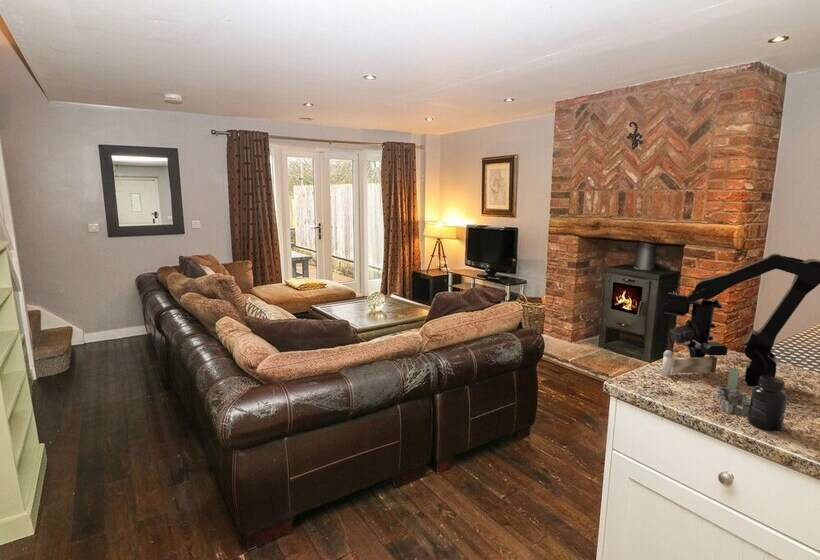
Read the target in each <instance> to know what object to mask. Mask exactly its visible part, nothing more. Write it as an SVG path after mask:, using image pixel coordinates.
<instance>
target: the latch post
mask: <svg viewBox="0 0 820 560" xmlns="http://www.w3.org/2000/svg"><path fill="white" fill-rule="evenodd" d="M728 372H729V373H728V380H727V388H729V389H734V390H737V388H738V380H739V376H740V375H739V374H740V373H739V369H737V368H734V367H733V368H731V367H730V368H729V371H728Z"/></svg>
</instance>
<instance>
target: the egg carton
mask: <svg viewBox="0 0 820 560" xmlns="http://www.w3.org/2000/svg"><path fill="white" fill-rule="evenodd" d="M716 391H717V393H716V400H718V404H719V405H720V409H721V410H722V411H725V412H727V413H729V414H733V413H738V414H741V415H742V416H746V417H748V414H749V407H750V401H751V396H750V397H749V395H748V393H747V392H745V391H743V392H740V391H739V389H736V390H734V389H729V388H728V386H727V387H723V386H721V385H719V384H718V385H717V389H716ZM739 401H740V402H742V404H741V405H740V404H739Z"/></svg>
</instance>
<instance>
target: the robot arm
mask: <svg viewBox="0 0 820 560" xmlns="http://www.w3.org/2000/svg"><path fill="white" fill-rule="evenodd" d="M774 270H778V271H783V272H786V273H789V274H792V275H794V277H793V279H792V283H791V286H790V287H789V288H788V290H787V291H786V292H785V294H784V296H783V297H782V299H781V300H780V301H779V303H778V304H777V306H776V307H775V308H774V310H773V311H772V313H771V314H770V315H769V317H768V318H767V319H766V321H765V322H764V324H763V326H762V327H761V328H759V329H758V330H757V331H756V330H755V329H753V328H752V329H750V331H749V332H750V333H749V334H748V335H747V337H746V338H744V339H743V346H744V354H745V356H746V357H747V358H748V360H749V361H748V365H746V366H745V371H744V376H743V377H744V381H745V383H746V385H747V386H751V387H756V386H759V384H758V382H759V378H760V376H772V377H776V373H777V370H778V369H777V366H778V364H777V358H776V355H775V354H774V353H773V352H772V349H773V347H774V344H775V341H776V339H777V335H778V334H779V333H780V332H781V330H782V329H783V328H784V326H785V325H786V323H787V322H788V321H789V319H791V316H792V315H793V314H794V312H795V311H796V309H798V307H799V305H800V304H801V303H802V302H803V300H804V298H805V297H806V296H807V295H808V294H809V293H810V292H812V290H814V289H816V288H817V287H818V286H819V285H820V259H815V258H809V259H805V260H804V259H802V258H801V259H800V258H796V257H792V256H791V257H790V256H787V255H781V254H780V253H771V254H769V255H768V256H766V257H764V258H762V259H760V260H756V261H754V262H751V263H749V264H746V265H745V266H742V267H739V268H737V269H735V270H732V271H729V272H727V273H723V274H718V275H713V276H708V277H705V278H703V279H700V280H699V281H698V282H697V283H696V285H695V287H694V290H692V291H691V292H689V293H688V294H687V295H684V294H678V293H674V292H668V293H667V298H666V303H665V304H664V311H663V312H664V314H667V315H668V314H669V315H673V316H681V317H685V316H686V315H687V314H688V315H689V314H690V311H691V314H690V319H687V320H686V321H685V324H684V325H680V326H674V327H673V328H671V329H669V333H670V336H671V340H672V341H674V342H676V343H677V344H682V345H683V344H684V345H685V346H686V347H687V349H688V352H689V353H688V354H689V356H690V357H689V358H695V357H706V355H707V356H728V350H729V348H728V347H727V346H726V345H725V344H722V343H721V342H719V341H713V340H714V337H713V336H712V335H711V331H712V328H716V324H715V323H713V319H714V312H715V308H716V309H722V308H723V303H722V302H720V301H719V299H718V298H715V297H716V296H718V295H721V294H722V293H723V292H725V291H726V290H728V289H729V288H731V287H733V286H735V285H738V284H741V283H744V282H746V281H748V280H752V279H754V278H756V277H759V276H761V275H763V274H765V273H770V272H771V271H774ZM714 298H715V299H714ZM711 299H714V300H711ZM691 306H692V307H691ZM691 308H692V309H691Z"/></svg>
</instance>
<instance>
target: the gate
mask: <svg viewBox="0 0 820 560" xmlns="http://www.w3.org/2000/svg"><path fill="white" fill-rule="evenodd" d="M717 363H718V357H717V356H716V355H708V356H704V357H695V358H691V357H672V365H671V373H670V374H701V373H702V374H703V373H705V374H706V373H708V374H709V373H712V374H713V373H714V374H715V373H716V370H717Z"/></svg>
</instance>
